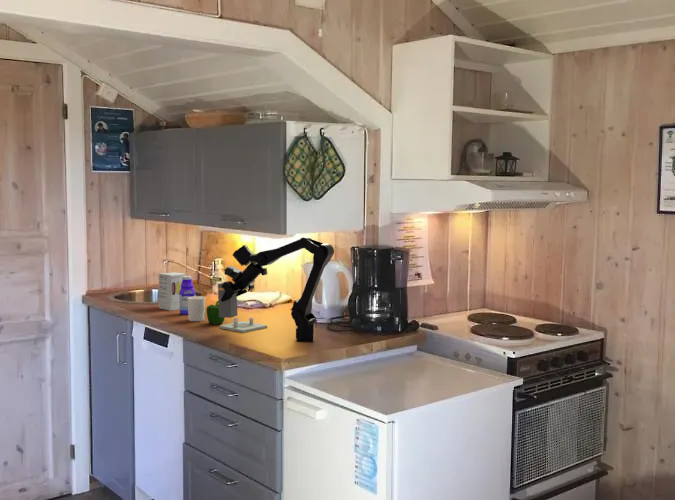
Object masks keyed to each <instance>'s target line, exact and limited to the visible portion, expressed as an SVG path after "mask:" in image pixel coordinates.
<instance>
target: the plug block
mask: <svg viewBox="0 0 675 500" xmlns="http://www.w3.org/2000/svg"><path fill="white" fill-rule="evenodd" d="M224 282H225V281H224ZM224 282H219V283H217V299H218V300H217V301H218V304H219V317H225V318H226V319H227V318H230V319H232V318H235V317H237V316H238V296H235V297H233V298H230V299H228V300H226V301H224V302H222V301H221V298H222V296H223V294H224V292H225V290H224V289H223V288H222V287H221V285H222V284H223V283H224ZM231 282H232V283H235V282H233V281H231ZM236 295H237V294H236Z"/></svg>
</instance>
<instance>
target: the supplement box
mask: <svg viewBox="0 0 675 500" xmlns="http://www.w3.org/2000/svg"><path fill="white" fill-rule="evenodd" d="M183 276H187V274H186V273H183V272H175V271H172V272H162V273H158V309H161V310H165V311H169V312H171V311H177V310H180V309H179V292H180V290H181V284H182V277H183Z"/></svg>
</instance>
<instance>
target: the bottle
mask: <svg viewBox="0 0 675 500" xmlns="http://www.w3.org/2000/svg"><path fill="white" fill-rule="evenodd" d="M192 296H196V291H195V288H194V283H193V281H192V276H191V275H186V276H183V277H182V284H181V290H180V292H179V309H178V310H179V313H180V314H181V315H189V314H188V302H187V298H188V297H192Z"/></svg>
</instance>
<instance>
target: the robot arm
mask: <svg viewBox="0 0 675 500" xmlns="http://www.w3.org/2000/svg"><path fill="white" fill-rule="evenodd" d="M302 249H305V250H306V251H308V252H309V253H311V254H312V255H313V257H312V261H313V262H312V263H313V264H312V267H311V270H310V272H309V275H308V278H307V281H306V282H305V286H304V289H303V291H302V294H301V296H300V298H298V299H296V300H294V301H293V303H292V307H291V309H290V311H291V313H290V314H291V315H290V316H291V318H292V319H293V320H294V323H295V326H296V328H295V340H296V342H304V343H305V342H308V343H309V342H311V343H313V342H314V340H315V336H314V335H315V334H314V333H315V328H314V327H315V325H314V324H316V321H317V317H316V316H315V314H314V313H313V312H312V308H313V298H314V297H315V293H316V291H317V287H318V285H319V283H320V280H321V278H322V275H323V273H324V270H325V268H326V266H327V265H328V263H330V261H331V260H332V258H333V256H334V255H335V248H334V246H333V245H331V244H330V243H324V242H321V241H318V240H316V239H313V238H311V237H309V236H305V237H301V238H300V239H297V240H295V241H292V242H290V243H288V244H285V245H282V246H279V247H277V248H273V249H267V250H263V251H259V252H258V253H253V252H252V251H251V250H250V248H249V247H248V245H246V244H244V245H242V246H241V247H239V248H238V249H236V250H234V252H233V253H232V257H233V259H235V260H236V261H237V262H238V264H239V265H240V266H241V267H243V266H245V268H244V269H243V270H241V269H239V268H237V267H235V266H233V265H227V266H226V267H225V268H224V269H223V271H224V273H223V274H224V275H225V276H228V277H230V278H232V279H231V280H227V281H224V283H223V282H222V283H223V284H222V285H221V287H222V288H223V289H224V290H225V292H224V294H223V296H222V298H221V301H222V302H224V301H226V300H228V299H230V298H233V297H235V296H237V297H239V296H242V295H244V294H247V293H248V292H252V290H253V289H255V284H254V282H255V281H256V279H257V278H258V277H259V276H260V275H261V276H266V275H268V271H267V267H266V266H268V265H270V266H271V265H272V264H274V263H275V262H277V261H278V260H279V259H281V258H283V257H285V256H287V255H290V254H293V253H295V252H297V251H300V250H302ZM264 266H265V267H266V268H265V267H264ZM232 282H234V283H232ZM236 294H237V295H236Z"/></svg>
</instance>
